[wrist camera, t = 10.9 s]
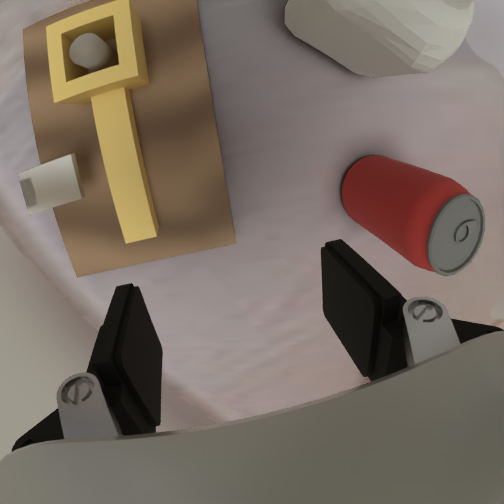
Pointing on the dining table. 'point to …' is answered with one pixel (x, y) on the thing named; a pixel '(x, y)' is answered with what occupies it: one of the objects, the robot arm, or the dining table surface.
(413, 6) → the soap bottle
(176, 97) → the bracket base
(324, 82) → the dining table surface
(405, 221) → the beer can
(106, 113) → the link
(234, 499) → the robot arm
